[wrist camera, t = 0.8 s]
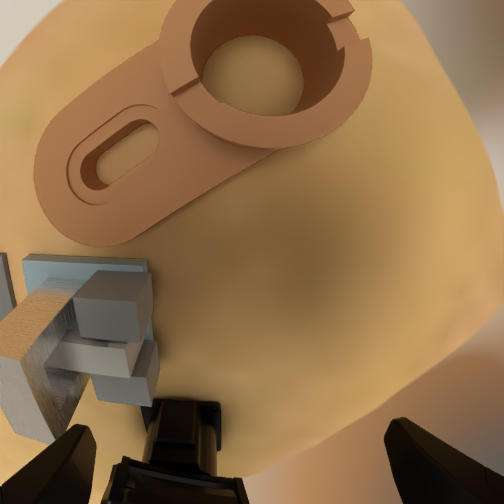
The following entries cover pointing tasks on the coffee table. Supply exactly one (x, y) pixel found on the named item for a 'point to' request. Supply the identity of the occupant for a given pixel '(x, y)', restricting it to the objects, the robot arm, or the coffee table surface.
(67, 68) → the coffee table surface
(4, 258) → the mat
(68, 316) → the wood-topped grey block
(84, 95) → the bracket
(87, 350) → the vise
